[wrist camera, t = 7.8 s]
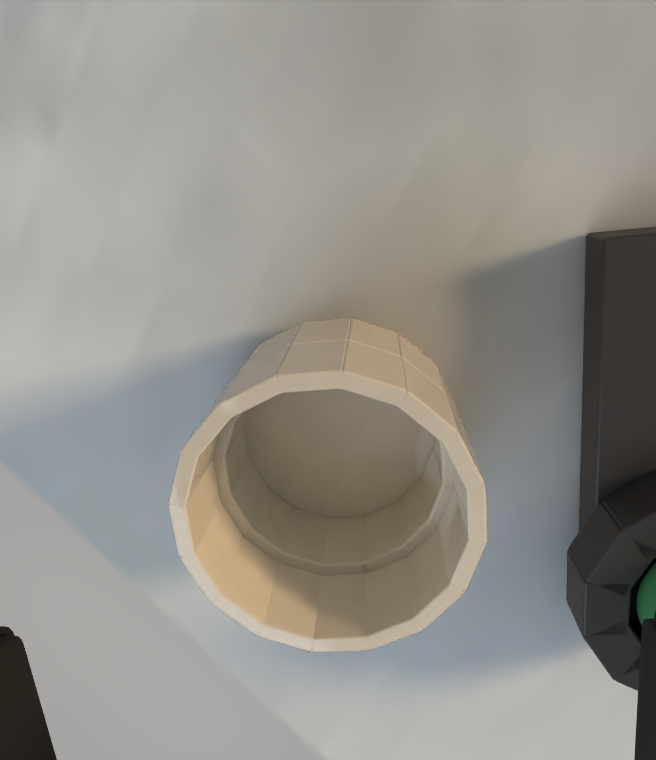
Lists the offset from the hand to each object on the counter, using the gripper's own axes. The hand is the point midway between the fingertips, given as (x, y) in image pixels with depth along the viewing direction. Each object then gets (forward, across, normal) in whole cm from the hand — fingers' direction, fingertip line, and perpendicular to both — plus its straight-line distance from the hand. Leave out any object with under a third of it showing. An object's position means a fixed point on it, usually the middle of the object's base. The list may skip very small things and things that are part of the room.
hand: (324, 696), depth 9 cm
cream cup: (+10, 0, 0) cm, 10 cm away
